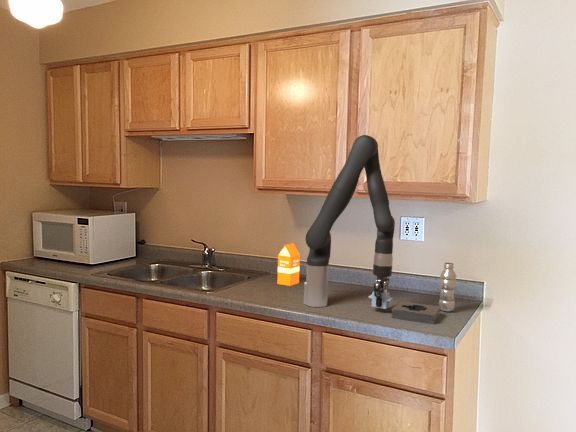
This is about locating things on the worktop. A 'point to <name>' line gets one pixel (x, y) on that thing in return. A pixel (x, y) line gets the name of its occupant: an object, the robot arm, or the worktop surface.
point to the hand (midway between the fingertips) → (380, 305)
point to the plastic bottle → (447, 288)
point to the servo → (384, 299)
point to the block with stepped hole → (416, 312)
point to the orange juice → (288, 265)
